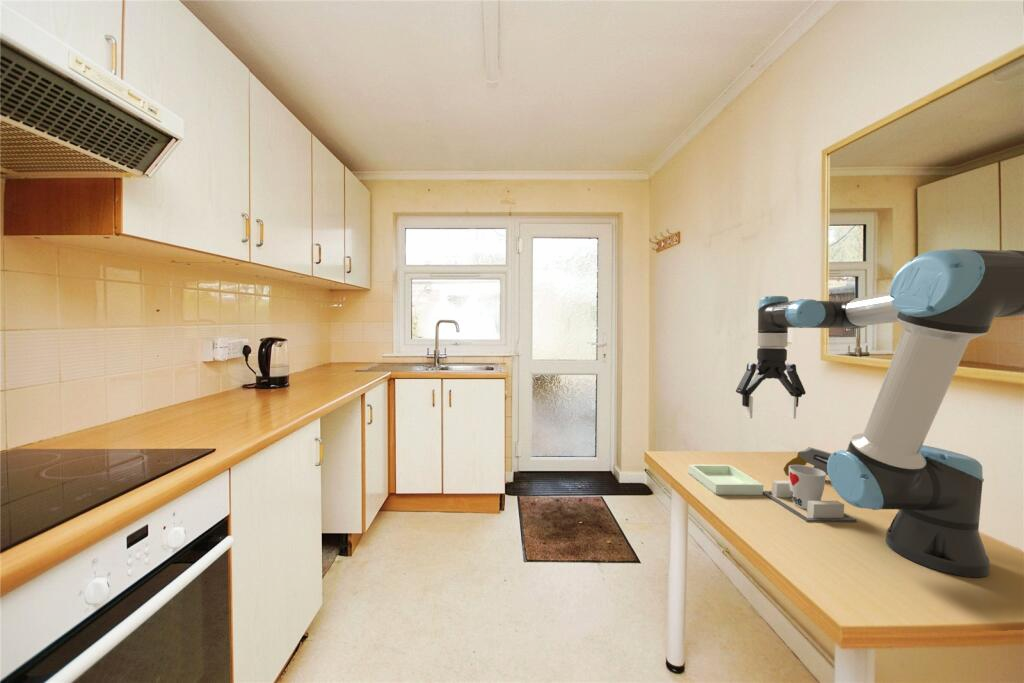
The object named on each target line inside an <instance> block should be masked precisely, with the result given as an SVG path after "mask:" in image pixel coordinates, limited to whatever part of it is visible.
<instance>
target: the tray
mask: <svg viewBox="0 0 1024 683" xmlns="http://www.w3.org/2000/svg"><path fill="white" fill-rule="evenodd" d="M688 474H689V475H690V476H691V477H692V478H694V479H695V480H696V481H697V482H698V483H700V484H701V485H702V486H704V487H705V488H706V489H708V491H710V492H711V493H713V494H714V495H715V496H719V495H720V496H723V495H724V496H726V495H727V496H745V495H746V496H762V495H764V494H763V491H764V484H763V483H762V482H759V481H758V480H756V479H755V478H753V477H751V476H750V475H748V474H746V473H745V472H743V471H742V470H740V469H738V468H736V467H734V466H733V465H732V464H688Z"/></svg>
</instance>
